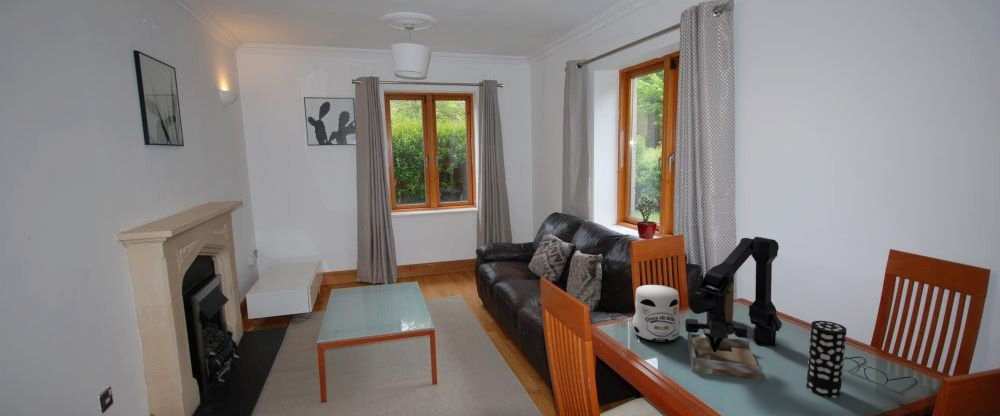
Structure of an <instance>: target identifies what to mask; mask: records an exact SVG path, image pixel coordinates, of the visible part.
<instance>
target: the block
mask: <svg viewBox="0 0 1000 416" xmlns="http://www.w3.org/2000/svg"><path fill="white" fill-rule="evenodd" d="M734 287H735V280H734V281H733V283H732V284H731V286H730V287H729V289H728V290H729V291H730V292H731V294H727V300H726V322H728V323H734V321H733V318H734V302H735V301H734V300H735V299H734V293H735V288H734ZM713 289H716V288H713Z"/></svg>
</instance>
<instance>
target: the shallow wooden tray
mask: <svg viewBox="0 0 1000 416" xmlns="http://www.w3.org/2000/svg"><path fill="white" fill-rule="evenodd" d="M700 335H701V334H697V333H692V332H687V349H688V356H689V362H690V367H691V368H690V369H691V372H693V373H701V374H708V375H717V376H723V377H725V376H726V377H731V378H732V377H733V378H739V379H746V380H756V381H762V380H763V379H762V378H763V366H762V365H758V362H757V360H756V358H755V357H754V354H753V352H752V350H751V347H750V342H751V341H750V339H747V338H735V337H728V338H724V339H723V340H722V341H721V343H720V345H719V347H718V349H717V351H716V352H713V349H712V352H708V353H705V354H702V355H699V354H698V352H697V350H696V348H695V346H694V344H693V339H692V338H694V337H697V336H700ZM707 338H708V336H707ZM708 340H709V338H708ZM709 342H710V340H709ZM714 343H715V337H714ZM710 344H711V342H710ZM711 347H712V346H711Z"/></svg>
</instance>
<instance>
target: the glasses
mask: <svg viewBox="0 0 1000 416" xmlns="http://www.w3.org/2000/svg"><path fill="white" fill-rule="evenodd" d="M859 358H860V359H863V358H864V357H863V356H850V357H847V356H844V360H850V361H853V362H854V363H856V364H857V366H858V369H857V370H856V371H855V372H854V371H853V374H855V373H857V372H859V370H860V369H861V368H863V373H864V376H865V378H866V379H867V380H868V379H869V378H868V377H867V374H866V369H868V368H869V369H873V370H876V371H878V372H879V373H881V374H883V375H884V376H885V377H886V378H885V379H886V382H885V384H884V385H883V387H885V386H886V385H887V383H888V382H889V381H895V380H903V379H908V378H909V379H911V378H910V377H911V376H902V377H897V378H890V379H889V378H888V376H887V374H886V373H885V372H884V371H881V370H879V369H876V368H874V367H871V366H869V365H868V366H867V365H866V364H863V363H860V362H859V361H856V360H854V359H859ZM861 365H862V366H861ZM864 366H865V367H864Z"/></svg>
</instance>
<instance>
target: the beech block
mask: <svg viewBox="0 0 1000 416" xmlns="http://www.w3.org/2000/svg"><path fill="white" fill-rule="evenodd" d="M699 335H700V336H697V337H694V338H692V339H693V344H694V346H695V348H696V350H697V352H698V354H699V355H702V354H705V353H708V352H712V347H711V344H710V342H709V340H708V338H707V336H705V335H704V333H703V334H699Z"/></svg>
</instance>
